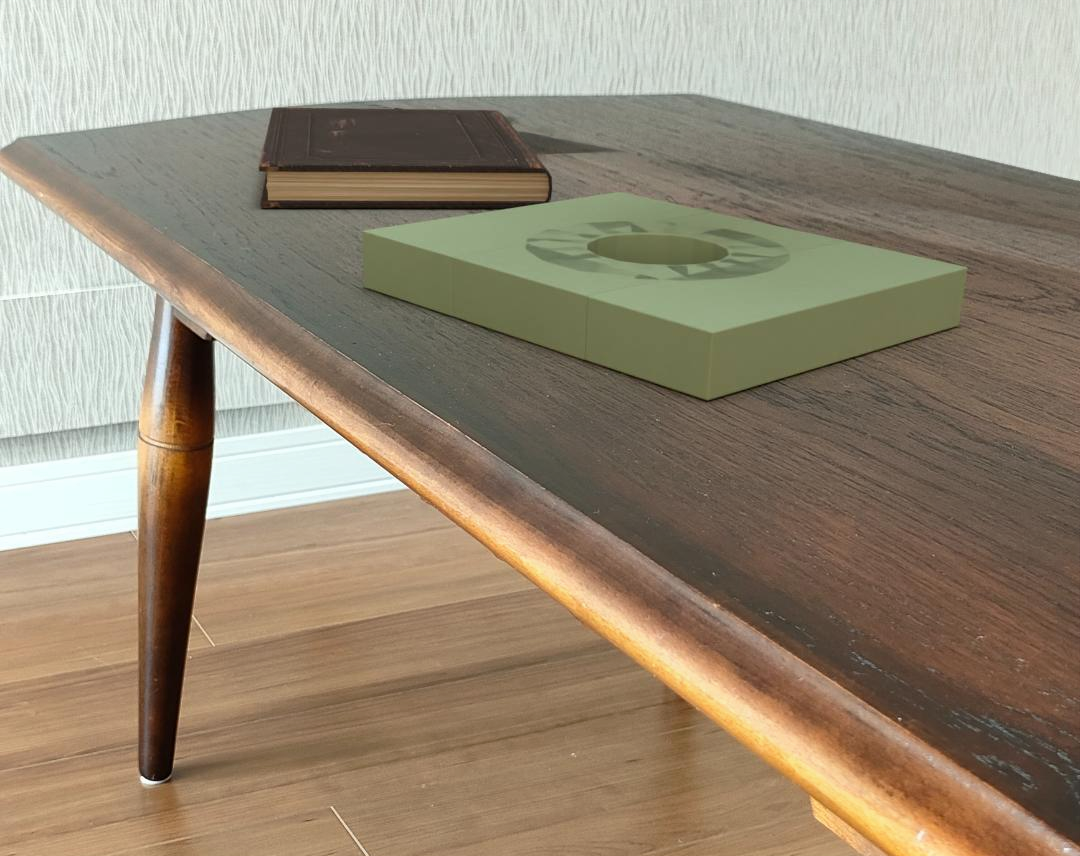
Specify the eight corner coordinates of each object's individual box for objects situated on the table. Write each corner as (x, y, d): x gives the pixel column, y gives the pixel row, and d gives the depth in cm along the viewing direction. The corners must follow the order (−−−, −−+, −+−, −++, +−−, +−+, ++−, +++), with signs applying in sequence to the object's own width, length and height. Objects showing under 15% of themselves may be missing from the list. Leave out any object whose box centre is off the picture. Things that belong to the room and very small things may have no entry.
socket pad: (959, 326, 60) (968, 267, 59) (707, 401, 50) (712, 331, 49) (617, 241, 74) (619, 191, 73) (363, 287, 64) (362, 230, 63)
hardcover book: (260, 208, 79) (258, 165, 78) (274, 142, 99) (272, 107, 99) (551, 208, 81) (553, 166, 80) (505, 144, 102) (505, 110, 101)
